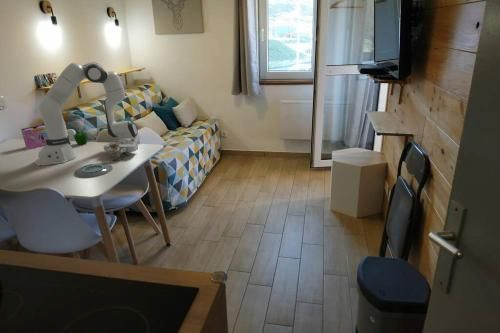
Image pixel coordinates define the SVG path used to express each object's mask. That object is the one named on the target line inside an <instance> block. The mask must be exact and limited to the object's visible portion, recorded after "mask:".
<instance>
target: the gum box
mask: <svg viewBox="0 0 500 333" xmlns="http://www.w3.org/2000/svg"><path fill="white" fill-rule="evenodd" d="M20 131H21V134H22V137H23V140H24V144H25V147H27V149H28V150H32V148H33V149H37V147H38V148H43V147H44V146H46V143H45V138H48V136H47V132H46V128H45V125H44V124H39V125H35V126H30V127H29V126H28V127H24V128H21V129H20Z"/></svg>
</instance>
